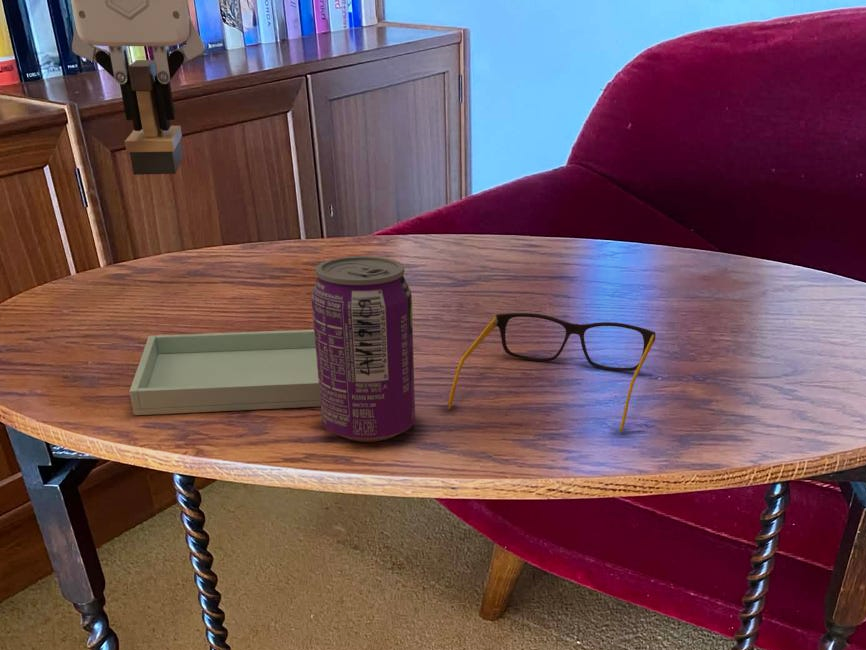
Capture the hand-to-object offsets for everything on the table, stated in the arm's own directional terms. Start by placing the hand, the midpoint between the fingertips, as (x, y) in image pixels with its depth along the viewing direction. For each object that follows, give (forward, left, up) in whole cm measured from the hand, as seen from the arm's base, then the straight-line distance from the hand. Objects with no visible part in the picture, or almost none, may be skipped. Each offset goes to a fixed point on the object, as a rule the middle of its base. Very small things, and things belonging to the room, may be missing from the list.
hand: (152, 127), depth 95 cm
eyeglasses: (+34, -35, -15) cm, 51 cm away
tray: (+9, -30, -15) cm, 34 cm away
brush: (0, 0, -4) cm, 4 cm away
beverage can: (+18, -41, -15) cm, 47 cm away
